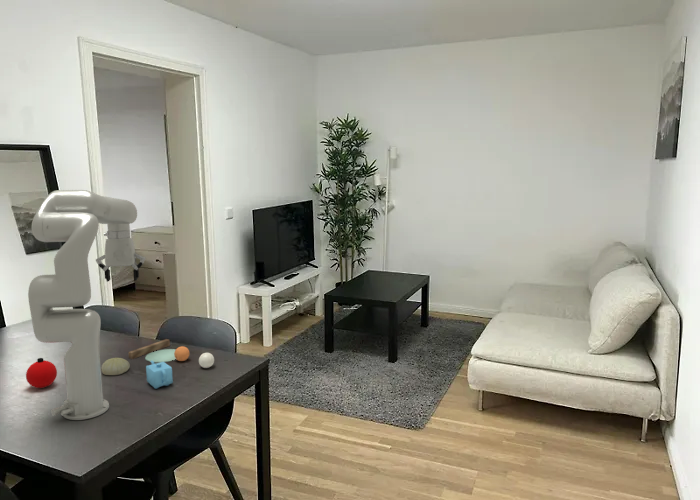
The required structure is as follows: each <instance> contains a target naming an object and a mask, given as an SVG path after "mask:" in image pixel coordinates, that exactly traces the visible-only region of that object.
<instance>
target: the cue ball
mask: <svg viewBox="0 0 700 500" xmlns="http://www.w3.org/2000/svg"><path fill="white" fill-rule="evenodd" d="M198 363H199V366H201V367H202V368H204V369H209V368H210V367H212V366H213V365H214V363H215V357H214V355H213V354H212V353H210V352H203V353H202V354H201V355H200V356H199V358H198Z"/></svg>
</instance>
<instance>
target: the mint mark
mask: <svg viewBox="0 0 700 500" xmlns="http://www.w3.org/2000/svg"><path fill="white" fill-rule="evenodd" d="M176 349H177V348H176ZM176 349H175V348H163V349H159V350H157V351H154V352H151V353H148V354H145V358H144V359H145V361H147V362H150V363H151V361H154V363H161V362H165V363H167V362H172V360H173V361H176V360H177V359H176V358H175V356H174V353H175V350H176ZM175 359H176V360H175Z"/></svg>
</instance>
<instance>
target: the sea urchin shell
mask: <svg viewBox="0 0 700 500" xmlns="http://www.w3.org/2000/svg"><path fill="white" fill-rule="evenodd" d="M130 366H131V365H130V362H129V361H128V360H127V359H124V358H123V357H111V358H108V359H106V360H104V362H103V363H102V365H101V366H100V367H101V374H104V376H105V375H106V376H118V375H122V374H125V373H126V372H127V371H128V370H129V369H130Z"/></svg>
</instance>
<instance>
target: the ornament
mask: <svg viewBox="0 0 700 500" xmlns="http://www.w3.org/2000/svg"><path fill="white" fill-rule="evenodd" d="M57 376H58V369H57V367H56V365H55V364H54V363H52V362H51V361H49V360H44V358H43V357H39V358H37V359H36V361H34V362H33V363H32V364H31V365H30V366H29V367H28V368H27V370H26V372H25V377H26V381H27V383H28V384H29V385H30V386H31V387H33V388H37V389H42V388H47V387H49V386H51V385H52V384H53V383H54V382H55V380H57V379H56V378H57Z"/></svg>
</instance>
